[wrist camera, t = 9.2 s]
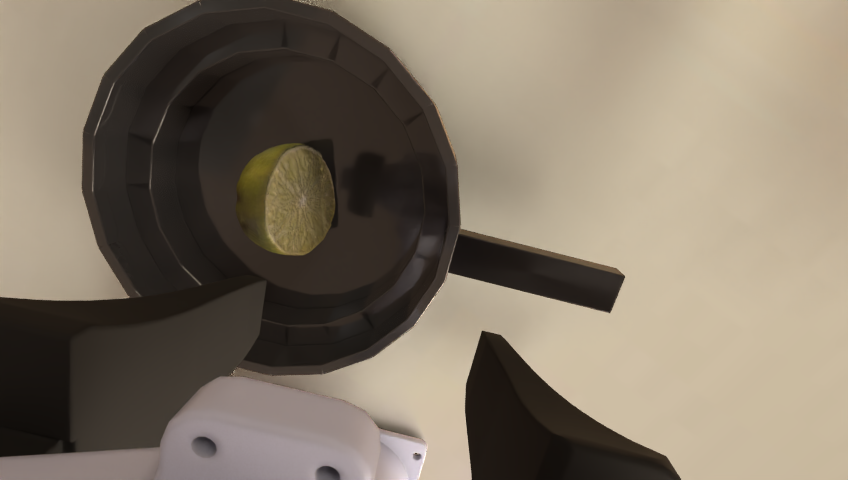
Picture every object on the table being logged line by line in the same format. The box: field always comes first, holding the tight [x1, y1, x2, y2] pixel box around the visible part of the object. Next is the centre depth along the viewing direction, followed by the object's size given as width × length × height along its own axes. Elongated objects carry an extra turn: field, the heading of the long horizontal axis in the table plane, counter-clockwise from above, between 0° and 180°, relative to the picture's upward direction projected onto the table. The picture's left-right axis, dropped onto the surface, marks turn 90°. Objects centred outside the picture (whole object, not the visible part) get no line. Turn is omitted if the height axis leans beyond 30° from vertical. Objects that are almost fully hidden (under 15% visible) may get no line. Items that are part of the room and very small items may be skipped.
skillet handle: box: [448, 229, 625, 313], centre depth 19 cm, size 2×8×1 cm, turn 76°
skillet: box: [82, 0, 461, 376], centre depth 20 cm, size 16×16×4 cm
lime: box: [235, 143, 335, 256], centre depth 19 cm, size 4×5×5 cm
